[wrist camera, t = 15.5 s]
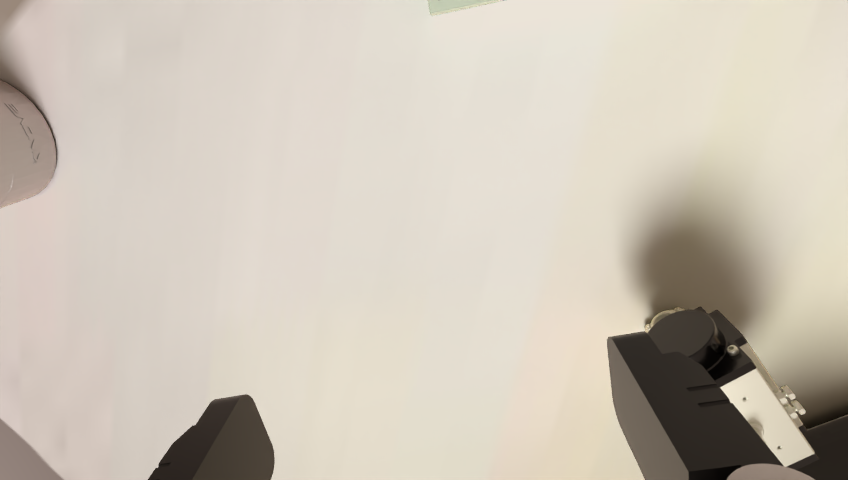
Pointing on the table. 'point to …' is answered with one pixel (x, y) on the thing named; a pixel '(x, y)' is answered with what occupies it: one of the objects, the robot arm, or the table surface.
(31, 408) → the table surface
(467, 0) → the stand
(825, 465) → the voltmeter
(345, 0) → the table surface
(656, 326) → the pneumatic valve
